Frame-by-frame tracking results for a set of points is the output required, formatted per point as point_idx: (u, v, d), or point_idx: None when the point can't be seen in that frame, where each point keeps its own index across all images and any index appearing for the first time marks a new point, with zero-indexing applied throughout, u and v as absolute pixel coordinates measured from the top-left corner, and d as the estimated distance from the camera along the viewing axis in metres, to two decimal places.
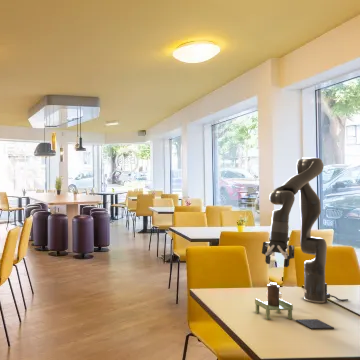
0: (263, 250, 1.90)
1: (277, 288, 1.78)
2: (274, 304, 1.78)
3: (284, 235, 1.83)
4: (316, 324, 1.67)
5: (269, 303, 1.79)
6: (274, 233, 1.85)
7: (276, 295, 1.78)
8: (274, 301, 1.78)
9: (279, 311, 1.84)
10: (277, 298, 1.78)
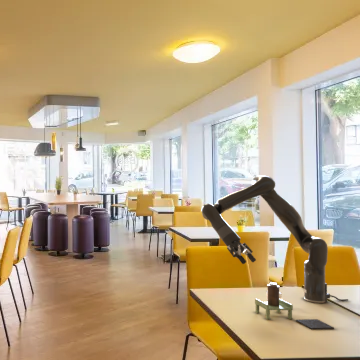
0: None
1: (277, 288, 1.78)
2: (274, 304, 1.78)
3: (224, 240, 1.97)
4: (316, 324, 1.67)
5: (269, 303, 1.79)
6: None
7: (276, 295, 1.78)
8: (274, 301, 1.78)
9: (279, 311, 1.84)
10: (277, 298, 1.78)
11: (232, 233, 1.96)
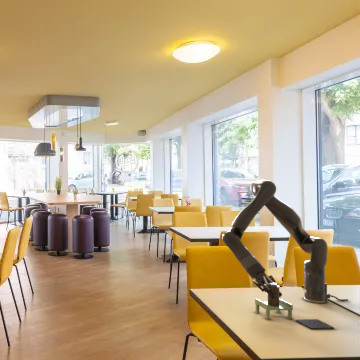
0: None
1: (277, 288, 1.78)
2: (274, 304, 1.78)
3: (248, 271, 1.87)
4: (316, 324, 1.67)
5: (269, 303, 1.79)
6: None
7: (276, 295, 1.78)
8: (274, 301, 1.78)
9: (279, 311, 1.84)
10: (277, 298, 1.78)
11: (256, 264, 1.85)
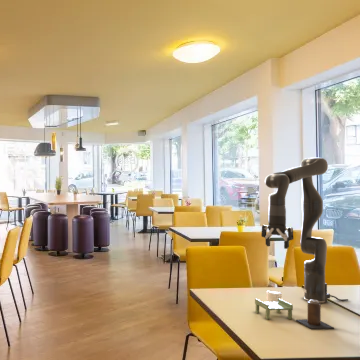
0: (262, 233, 1.95)
1: (318, 306, 1.67)
2: (315, 323, 1.66)
3: (282, 218, 1.87)
4: None
5: (310, 322, 1.68)
6: (272, 217, 1.89)
7: (318, 313, 1.66)
8: (316, 320, 1.66)
9: (279, 311, 1.84)
10: (318, 316, 1.66)
11: None
